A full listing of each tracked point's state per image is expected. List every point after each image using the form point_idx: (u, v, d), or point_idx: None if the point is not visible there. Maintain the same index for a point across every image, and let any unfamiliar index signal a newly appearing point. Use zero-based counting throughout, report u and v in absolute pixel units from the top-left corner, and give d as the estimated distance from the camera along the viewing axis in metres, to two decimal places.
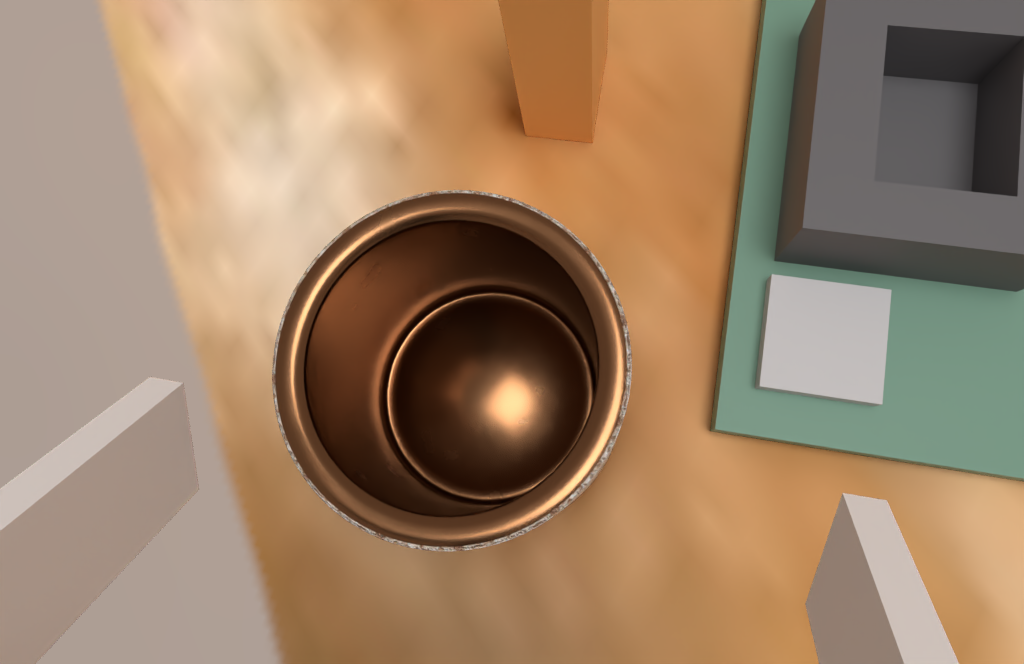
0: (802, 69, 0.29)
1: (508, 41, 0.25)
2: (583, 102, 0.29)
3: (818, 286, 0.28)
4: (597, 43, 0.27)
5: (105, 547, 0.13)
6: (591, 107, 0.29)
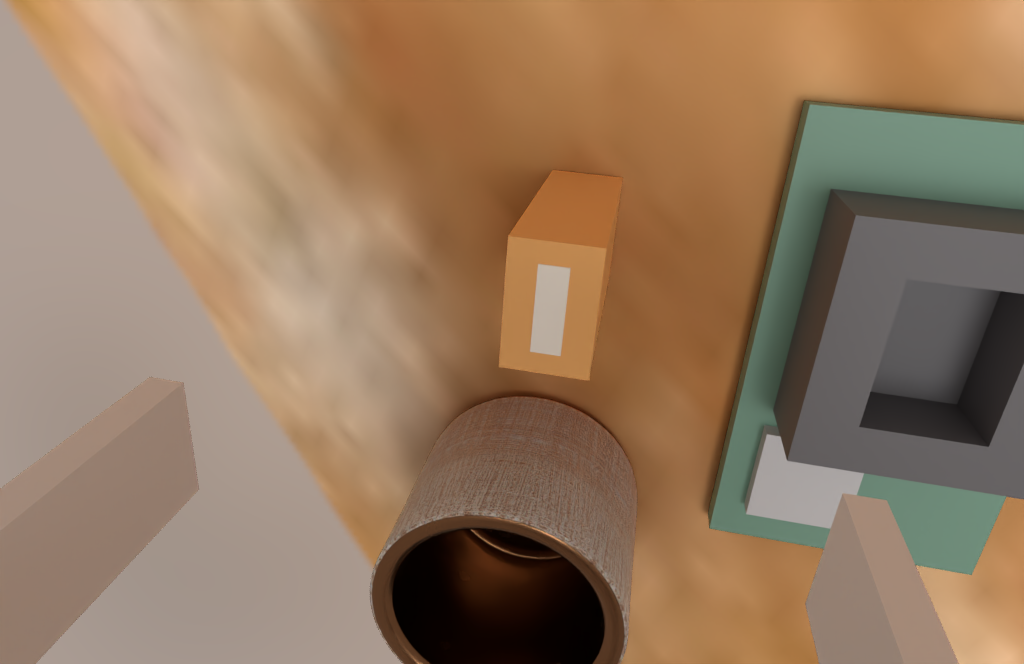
0: (822, 258, 0.28)
1: None
2: None
3: None
4: (604, 291, 0.27)
5: (105, 547, 0.13)
6: (603, 302, 0.30)
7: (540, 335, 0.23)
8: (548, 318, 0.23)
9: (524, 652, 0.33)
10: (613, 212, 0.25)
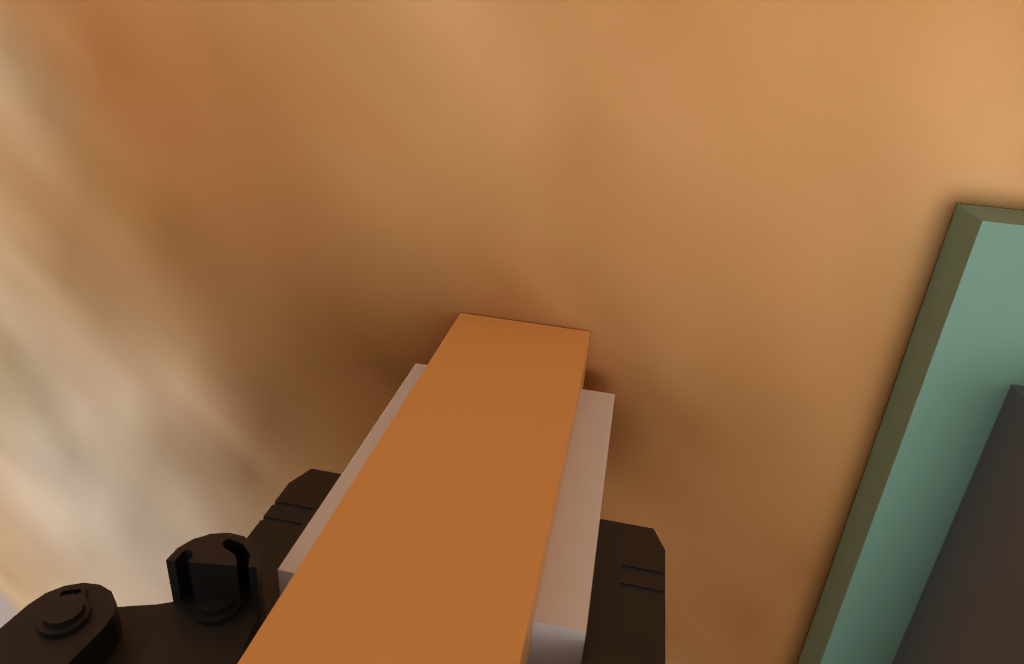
0: (994, 531, 0.13)
1: None
2: None
3: None
4: None
5: None
6: None
7: None
8: None
9: None
10: (553, 490, 0.11)
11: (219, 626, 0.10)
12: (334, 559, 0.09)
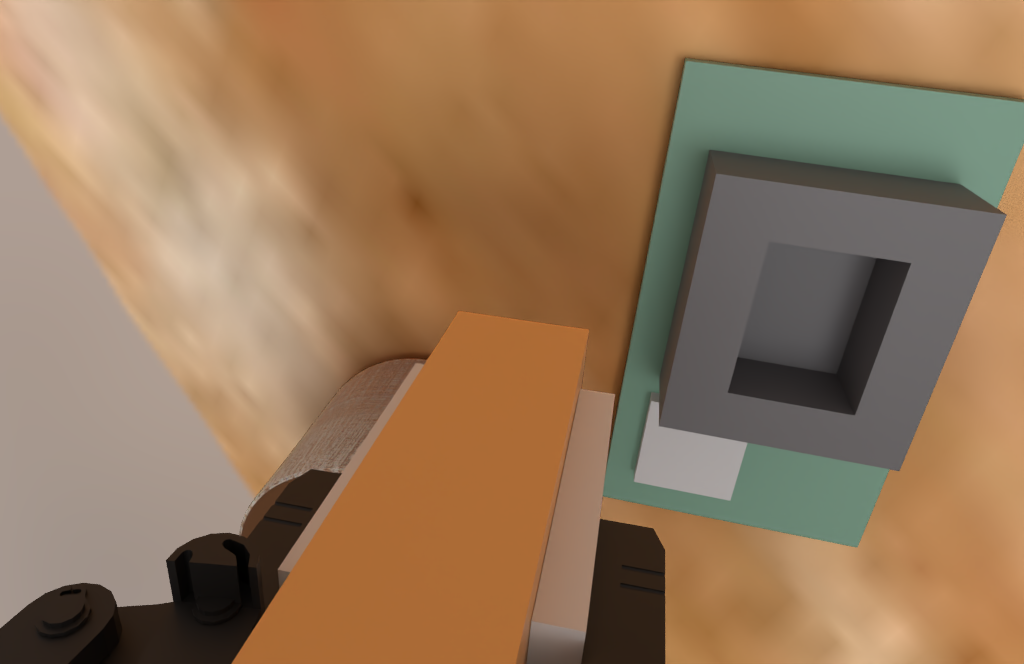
0: (697, 220, 0.27)
1: None
2: None
3: None
4: None
5: None
6: None
7: None
8: None
9: None
10: (551, 487, 0.11)
11: (219, 626, 0.10)
12: (331, 556, 0.09)
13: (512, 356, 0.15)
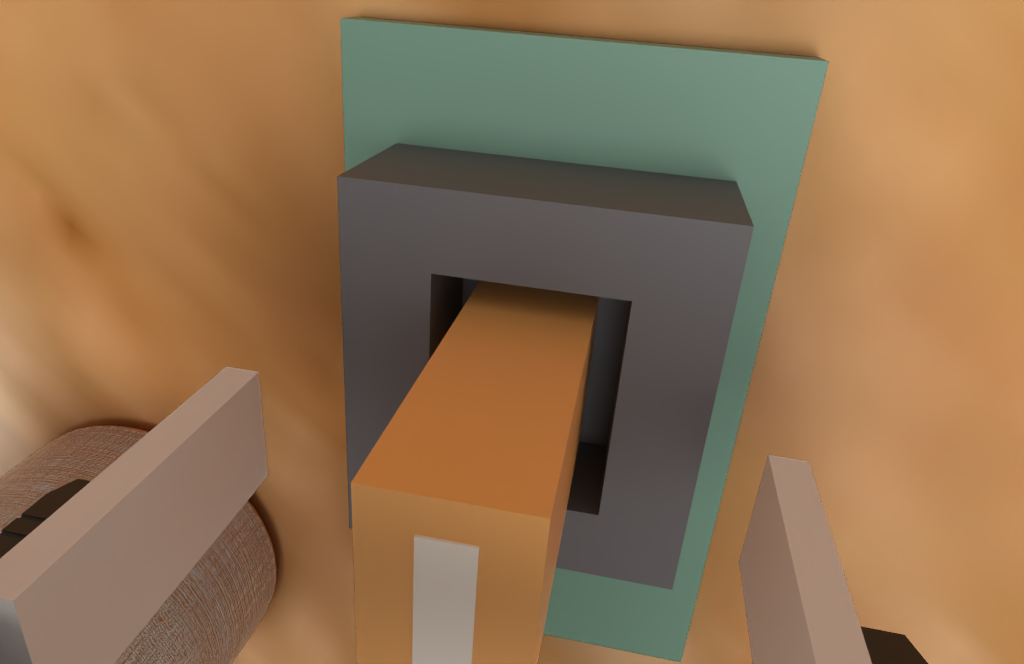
0: None
1: None
2: None
3: None
4: (566, 495, 0.16)
5: (193, 527, 0.14)
6: (570, 481, 0.18)
7: (429, 651, 0.12)
8: (442, 626, 0.12)
9: None
10: (578, 379, 0.14)
11: None
12: (416, 416, 0.12)
13: (540, 293, 0.18)
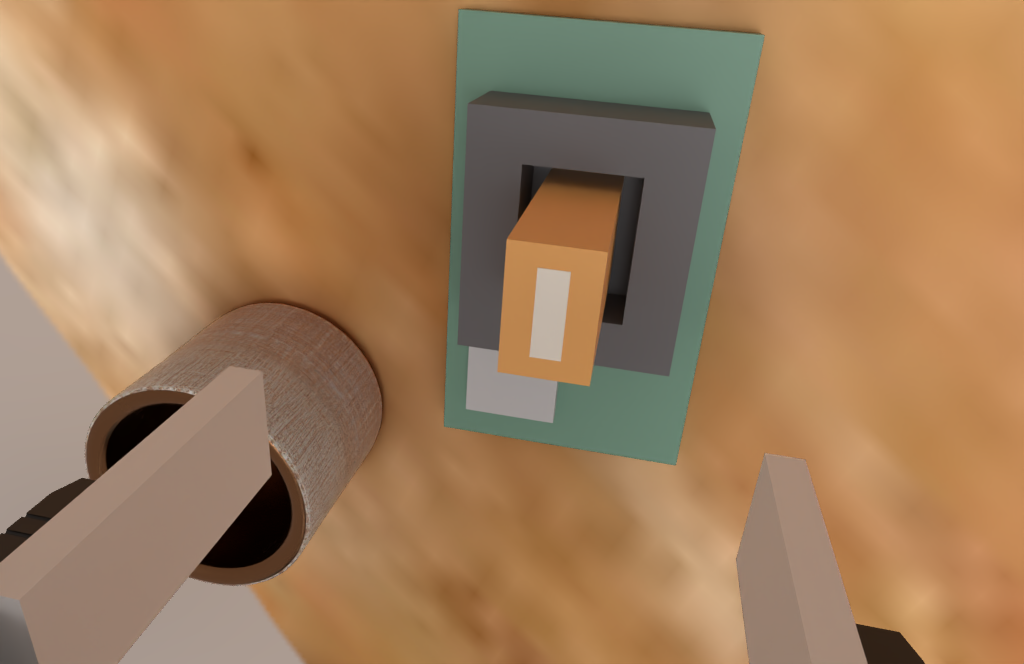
0: None
1: None
2: None
3: None
4: (605, 293, 0.26)
5: (197, 527, 0.14)
6: (604, 302, 0.29)
7: (540, 340, 0.23)
8: (548, 323, 0.22)
9: (254, 535, 0.36)
10: (614, 212, 0.25)
11: None
12: (530, 221, 0.23)
13: (586, 181, 0.28)
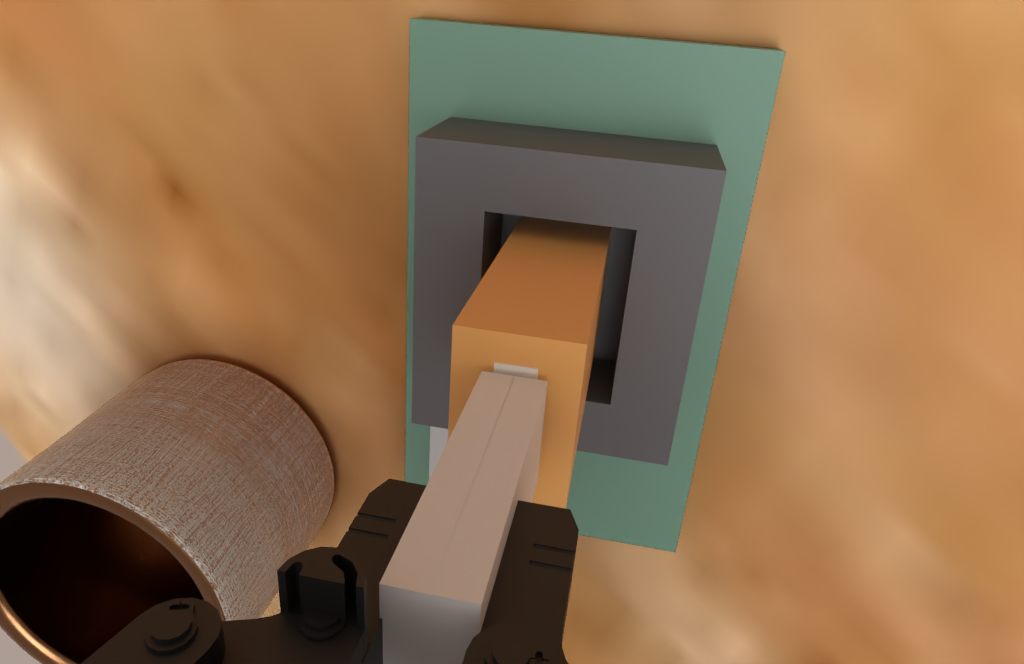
0: None
1: None
2: None
3: None
4: (588, 374, 0.21)
5: None
6: (588, 377, 0.24)
7: None
8: None
9: None
10: (599, 278, 0.19)
11: (324, 643, 0.09)
12: (488, 294, 0.18)
13: (565, 229, 0.23)
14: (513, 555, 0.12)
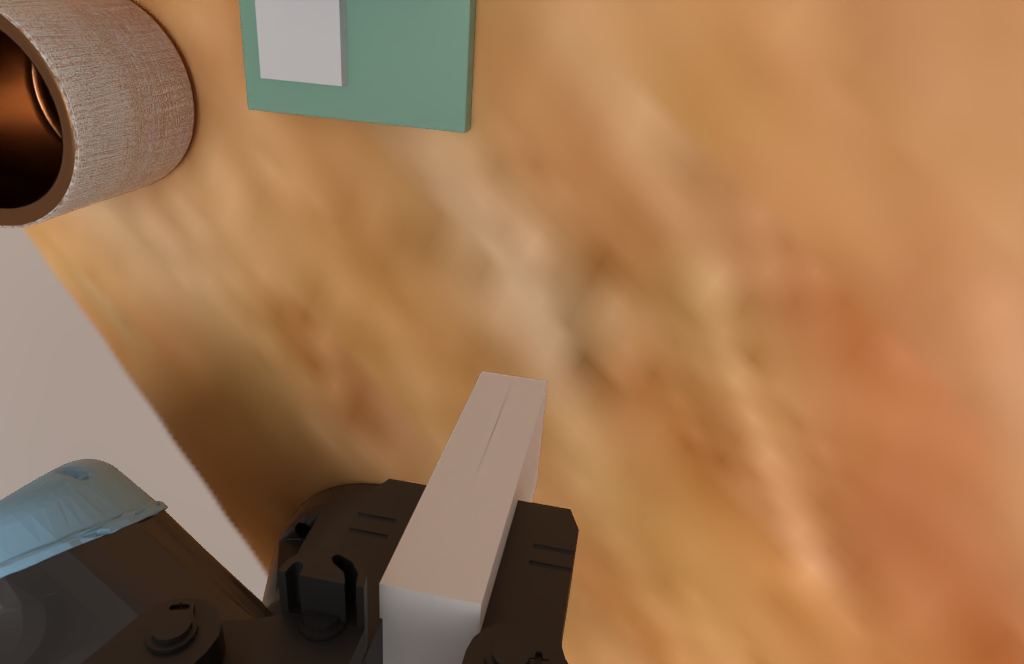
0: None
1: None
2: None
3: None
4: None
5: None
6: None
7: None
8: None
9: None
10: None
11: (324, 643, 0.09)
12: None
13: None
14: (513, 555, 0.12)
